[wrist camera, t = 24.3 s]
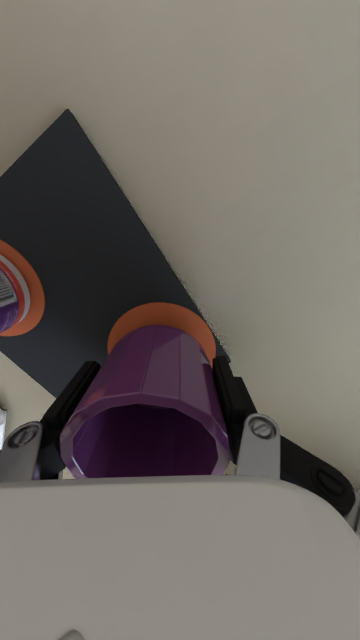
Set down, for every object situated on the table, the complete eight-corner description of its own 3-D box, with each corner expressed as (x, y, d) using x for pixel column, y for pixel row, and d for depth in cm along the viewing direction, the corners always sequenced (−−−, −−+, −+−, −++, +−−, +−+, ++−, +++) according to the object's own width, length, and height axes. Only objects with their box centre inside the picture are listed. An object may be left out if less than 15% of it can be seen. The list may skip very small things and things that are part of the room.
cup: (87, 357, 12) (21, 441, 7) (173, 304, 11) (167, 361, 6) (148, 419, 14) (131, 518, 9) (227, 381, 13) (257, 473, 8)
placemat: (-86, 271, 12) (-96, 272, 12) (71, 112, 9) (66, 106, 9) (99, 430, 18) (97, 434, 18) (232, 363, 15) (234, 367, 15)
